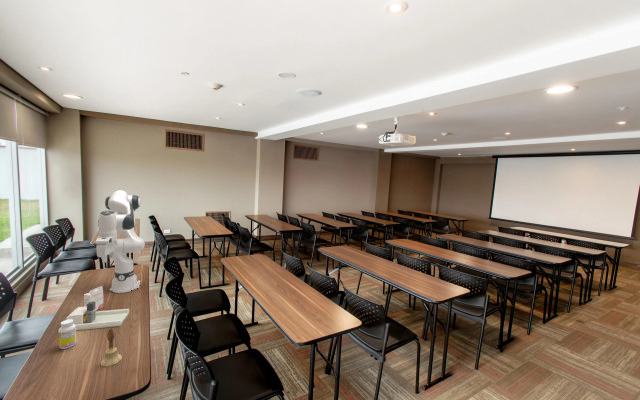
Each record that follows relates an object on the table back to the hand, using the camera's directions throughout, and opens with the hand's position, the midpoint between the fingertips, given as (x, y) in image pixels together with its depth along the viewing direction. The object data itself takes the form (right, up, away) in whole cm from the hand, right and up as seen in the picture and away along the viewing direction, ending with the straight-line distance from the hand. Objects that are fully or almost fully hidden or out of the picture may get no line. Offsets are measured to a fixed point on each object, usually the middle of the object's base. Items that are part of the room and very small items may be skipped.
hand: (108, 260), depth 166 cm
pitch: (-1, -36, -5) cm, 36 cm away
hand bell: (+30, -40, -36) cm, 62 cm away
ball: (-8, -33, -8) cm, 34 cm away
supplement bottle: (+1, -38, -27) cm, 47 cm away
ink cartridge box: (-15, -34, +8) cm, 38 cm away
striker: (-5, -34, -6) cm, 35 cm away
